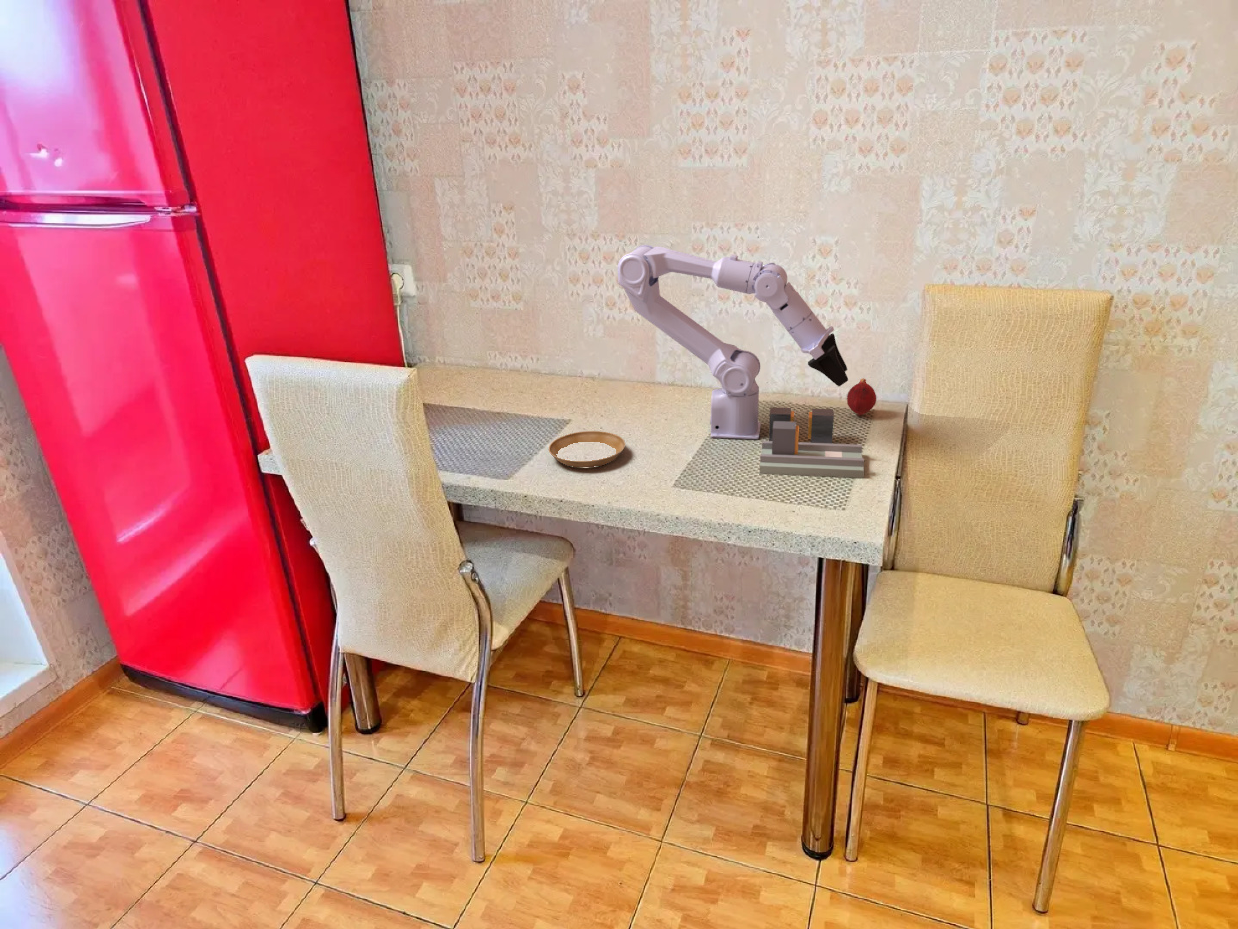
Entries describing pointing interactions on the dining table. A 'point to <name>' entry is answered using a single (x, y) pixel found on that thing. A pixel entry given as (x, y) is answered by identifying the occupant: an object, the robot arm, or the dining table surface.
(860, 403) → the onion
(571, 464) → the plant saucer
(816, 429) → the brushed grey cube
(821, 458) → the rail
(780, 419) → the block
